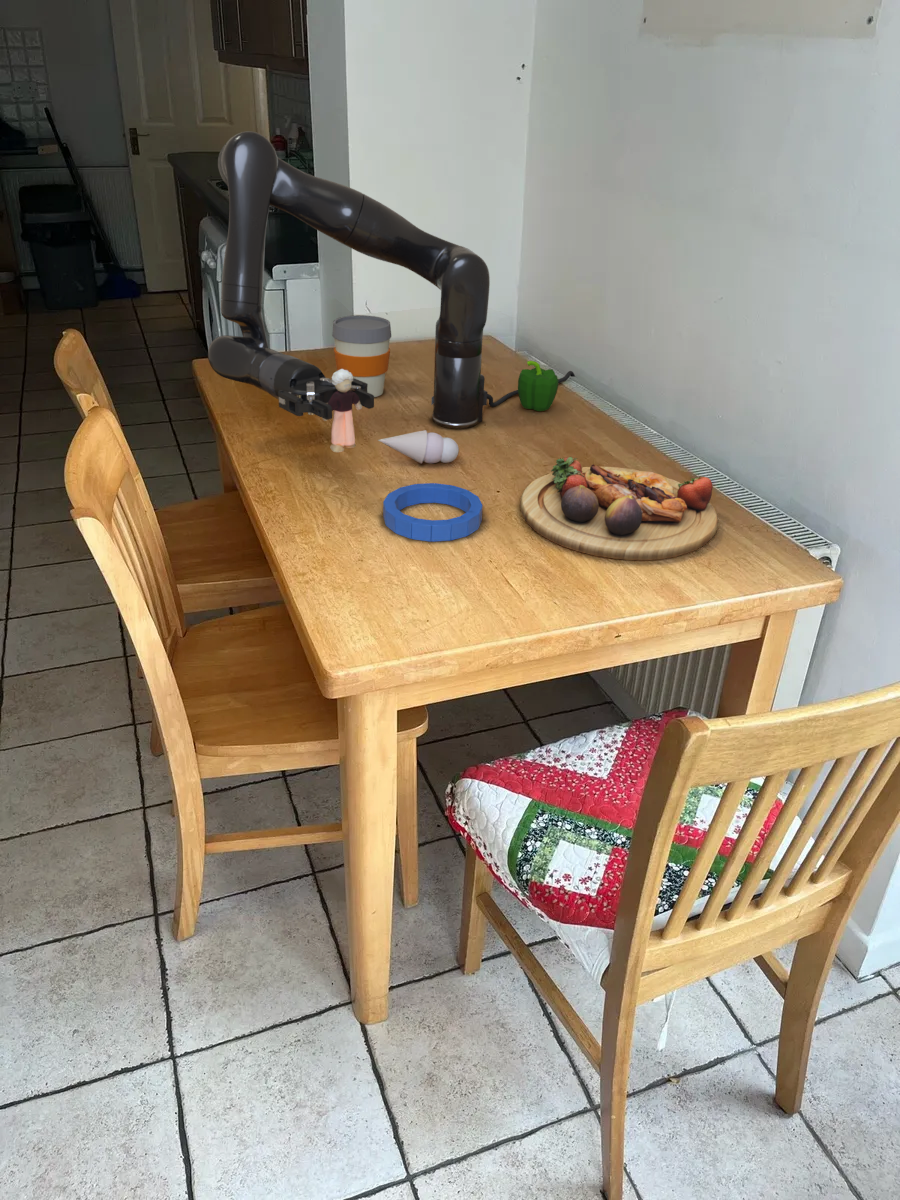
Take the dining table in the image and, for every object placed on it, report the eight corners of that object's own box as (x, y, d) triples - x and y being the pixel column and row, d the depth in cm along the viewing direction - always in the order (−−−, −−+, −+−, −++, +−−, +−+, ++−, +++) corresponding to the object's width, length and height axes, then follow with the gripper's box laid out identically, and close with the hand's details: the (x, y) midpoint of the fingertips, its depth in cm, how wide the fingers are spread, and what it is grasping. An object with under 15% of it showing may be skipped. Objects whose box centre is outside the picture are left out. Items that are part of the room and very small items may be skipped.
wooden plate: (712, 490, 160) (721, 445, 156) (720, 576, 133) (732, 526, 129) (532, 469, 165) (536, 425, 161) (505, 548, 138) (509, 499, 134)
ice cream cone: (373, 461, 165) (453, 472, 168) (378, 451, 159) (460, 463, 162) (376, 429, 166) (455, 441, 169) (381, 418, 160) (463, 430, 163)
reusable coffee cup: (402, 390, 201) (403, 321, 193) (368, 405, 192) (367, 333, 184) (357, 379, 206) (356, 311, 198) (322, 393, 197) (319, 323, 189)
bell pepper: (561, 406, 196) (566, 360, 190) (547, 417, 189) (551, 369, 184) (525, 398, 199) (529, 353, 194) (510, 409, 192) (513, 363, 187)
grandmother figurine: (339, 457, 142) (337, 378, 135) (320, 451, 144) (317, 372, 137) (368, 442, 148) (368, 365, 141) (350, 436, 149) (348, 360, 143)
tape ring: (447, 491, 155) (447, 476, 154) (500, 527, 144) (501, 511, 143) (366, 510, 148) (366, 494, 146) (416, 550, 137) (416, 533, 135)
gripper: (252, 366, 145) (313, 393, 135) (325, 350, 153) (387, 375, 143) (256, 411, 149) (315, 441, 139) (327, 394, 157) (387, 420, 147)
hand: (351, 407), depth 141 cm, fingers closed on grandmother figurine, 7 cm apart
